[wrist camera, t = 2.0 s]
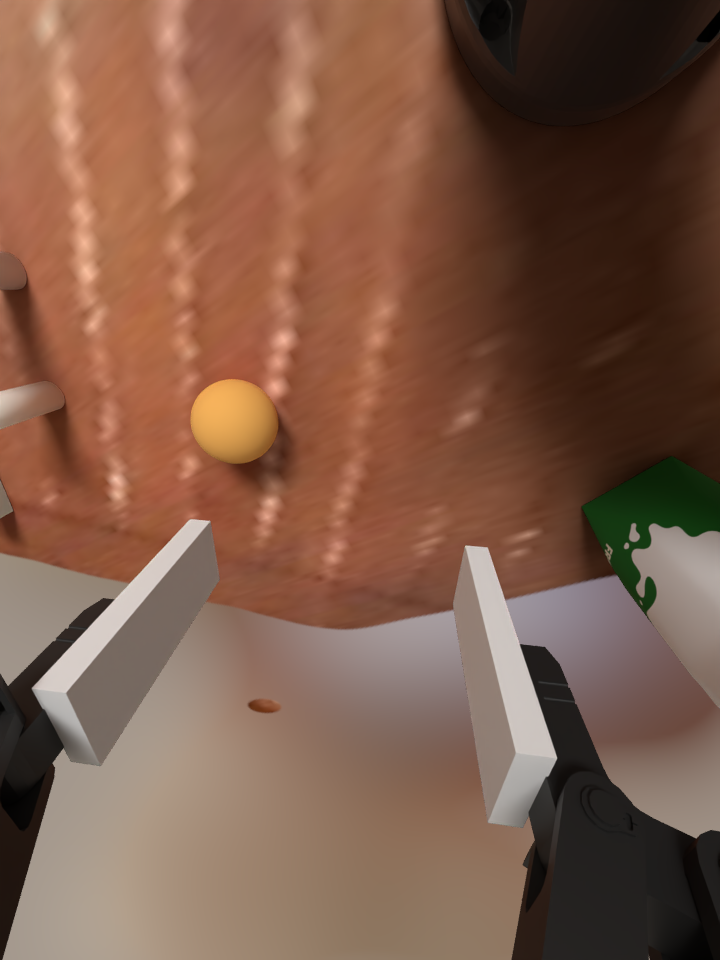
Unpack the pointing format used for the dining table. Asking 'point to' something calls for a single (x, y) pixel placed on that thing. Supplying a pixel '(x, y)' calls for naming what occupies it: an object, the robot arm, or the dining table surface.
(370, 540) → the dining table surface
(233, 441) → the ball
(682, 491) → the milk carton
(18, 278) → the grey pin
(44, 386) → the pin
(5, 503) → the wall
